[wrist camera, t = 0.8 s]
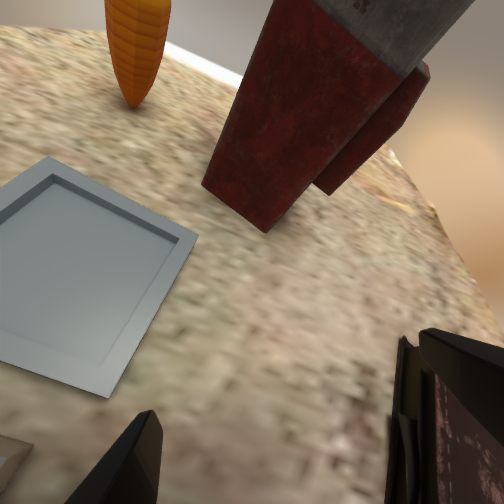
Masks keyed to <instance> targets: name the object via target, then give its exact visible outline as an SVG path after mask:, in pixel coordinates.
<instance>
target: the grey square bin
mask: <svg viewBox="0 0 504 504" xmlns="http://www.w3.org/2000/svg"><path fill="white" fill-rule="evenodd" d="M32 446H33V444H29V443H26V442H23V441H19V440H16V439H12V438H9V437H6V436H2V435H0V495H1V494H2V492H3V491H4V489H5V488H6V486H7V485H8V483H9V482H10V480H11V478H12V477H13V475H14V474H15V472H16V471H17V469H18V468H19V466H20V465H21V463H22V462H23V460H24V459H25V457H26V456H27V454H28V452H29V451H30V449H31V448H32Z"/></svg>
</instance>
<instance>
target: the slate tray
mask: <svg viewBox="0 0 504 504" xmlns="http://www.w3.org/2000/svg"><path fill="white" fill-rule="evenodd" d="M198 236H199V235H198V234H196V233H194V232H192V231H190V230H189V229H187V228H185V227H183V226H181V225H179V224H177V223H175V222H173V221H171V220H169V219H168V218H166V217H164V216H162V215H160V214H158V213H156V212H154V211H152V210H150V209H149V208H147V207H145V206H143V205H141V204H139V203H137V202H135V201H133V200H131V199H130V198H128V197H126V196H124V195H122V194H120V193H118V192H116V191H114V190H112V189H110V188H109V187H107V186H105V185H103V184H101V183H99V182H97V181H95V180H93V179H91V178H90V177H88V176H86V175H84V174H82V173H80V172H78V171H76V170H74V169H72V168H71V167H69V166H67V165H65V164H63V163H61V162H59V161H57V160H55V159H53V158H52V157H50V156H47V157H45V158H44V159H42V160H41V161H39V162H38V163H36V164H35V165H33V166H32V167H30V168H29V169H27V170H26V171H24V172H23V173H21V174H20V175H18V176H17V177H15V178H14V179H12V180H11V181H9V182H8V183H6V184H5V185H3V186H2V187H0V361H3V362H6V363H9V364H12V365H14V366H17V367H20V368H23V369H26V370H29V371H31V372H34V373H37V374H40V375H43V376H46V377H49V378H51V379H54V380H57V381H60V382H63V383H66V384H68V385H71V386H74V387H77V388H80V389H83V390H85V391H88V392H91V393H94V394H97V395H100V396H102V397H105V398H108V399H109V398H110V396H111V394H112V393H113V391H114V389H115V387H116V385H117V384H118V382H119V380H120V378H121V376H122V375H123V373H124V371H125V369H126V367H127V366H128V364H129V362H130V360H131V358H132V357H133V355H134V353H135V351H136V349H137V348H138V346H139V344H140V342H141V340H142V338H143V337H144V335H145V333H146V331H147V329H148V328H149V326H150V324H151V322H152V320H153V319H154V317H155V315H156V313H157V311H158V310H159V308H160V306H161V304H162V302H163V301H164V299H165V297H166V295H167V293H168V291H169V290H170V288H171V286H172V284H173V282H174V281H175V279H176V277H177V275H178V273H179V272H180V270H181V268H182V266H183V264H184V263H185V261H186V259H187V257H188V255H189V254H190V252H191V250H192V248H193V246H194V244H195V242H196V240H197V238H198Z"/></svg>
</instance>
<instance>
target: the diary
mask: <svg viewBox="0 0 504 504" xmlns="http://www.w3.org/2000/svg"><path fill="white" fill-rule="evenodd" d="M384 504H504V448H503V447H502V446H501V445H500V444H499V443H498V442H497V441H496V440H495V439H494V438H493V436H492V435H491V434H490V433H489V432H488V431H487V430H486V429H485V428H484V427H483V426H482V425H481V424H480V423H479V422H478V421H477V420H476V419H475V418H474V417H473V416H472V415H471V414H470V413H469V412H468V411H467V410H466V409H465V408H464V407H463V405H462V404H461V403H460V402H459V401H458V400H457V399H456V398H455V397H454V395H453V394H452V393H451V392H450V391H449V389H448V388H447V387H446V386H445V384H444V383H443V382H442V381H441V380H440V378H439V377H438V376H437V375H436V374H435V372H434V371H433V370H432V369H431V368H430V366H429V365H428V364H427V363H426V361H425V360H424V359H423V358H422V356H421V354H420V349H419V346H417V347H414V346H413V345H411V344H410V343H409V342H408V340H407V338H406V336H404V335H403V337H402V339H401V341H400V343H399V349H398V357H397V366H396V375H395V385H394V397H393V412H392V426H391V445H390V461H389V467H388V474H387V483H386V492H385V501H384Z"/></svg>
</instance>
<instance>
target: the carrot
mask: <svg viewBox="0 0 504 504" xmlns="http://www.w3.org/2000/svg"><path fill="white" fill-rule="evenodd" d="M170 12H171V0H105V16H106V29H107V37H108V43H109V49H110V54H111V59H112V64H113V68H114V72H115V75H116V78H117V81H118V84H119V86H120V89H121V91H122V93H123V95H124V97H125V99H126V101H127V103H128V105H129V106H130V107H132V108H135V107H137V106H138V105H139V104H140V103H141V101H142V100H143V99H144V98H145V97H146V95H147V94H148V92H149V90H150V89H151V87H152V85H153V83H154V80H155V77H156V75H157V72H158V69H159V66H160V63H161V60H162V56H163V51H164V46H165V41H166V36H167V30H168V24H169V18H170Z"/></svg>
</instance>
